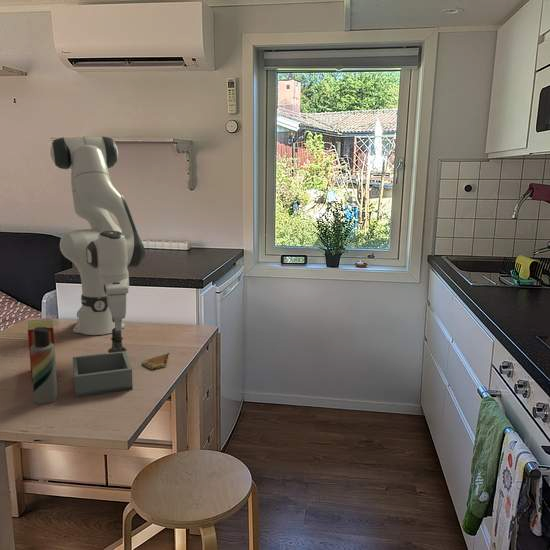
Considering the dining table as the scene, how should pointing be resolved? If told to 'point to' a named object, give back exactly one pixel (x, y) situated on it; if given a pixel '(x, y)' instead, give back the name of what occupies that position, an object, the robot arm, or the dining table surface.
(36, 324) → the baking soda box
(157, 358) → the shard
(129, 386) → the box
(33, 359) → the lotion bottle
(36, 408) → the dining table surface
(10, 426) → the dining table surface
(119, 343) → the stone chess piece
